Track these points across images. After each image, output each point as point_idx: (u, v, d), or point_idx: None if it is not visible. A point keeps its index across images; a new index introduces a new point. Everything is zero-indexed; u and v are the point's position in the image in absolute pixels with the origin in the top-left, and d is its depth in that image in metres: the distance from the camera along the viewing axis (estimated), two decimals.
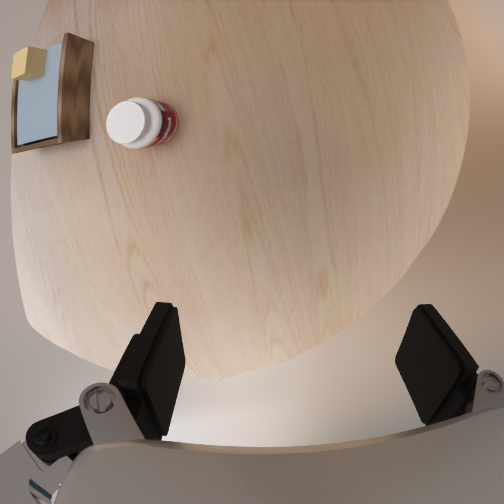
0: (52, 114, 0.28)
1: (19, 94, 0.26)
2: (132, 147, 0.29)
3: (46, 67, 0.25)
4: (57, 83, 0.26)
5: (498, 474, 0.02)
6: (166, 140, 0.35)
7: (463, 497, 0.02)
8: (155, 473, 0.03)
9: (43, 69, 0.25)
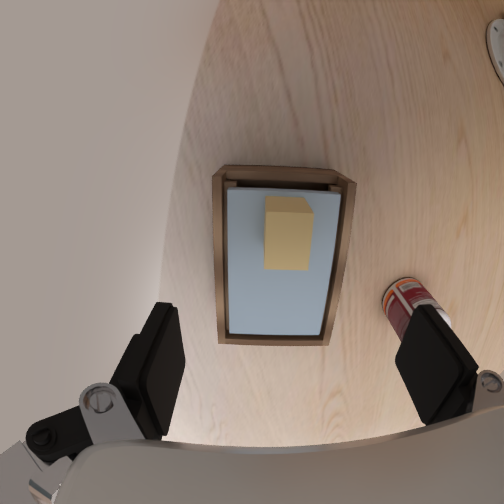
0: (314, 309, 0.26)
1: (232, 259, 0.24)
2: None
3: None
4: (328, 268, 0.24)
5: (498, 474, 0.02)
6: None
7: (463, 497, 0.02)
8: (155, 473, 0.03)
9: None
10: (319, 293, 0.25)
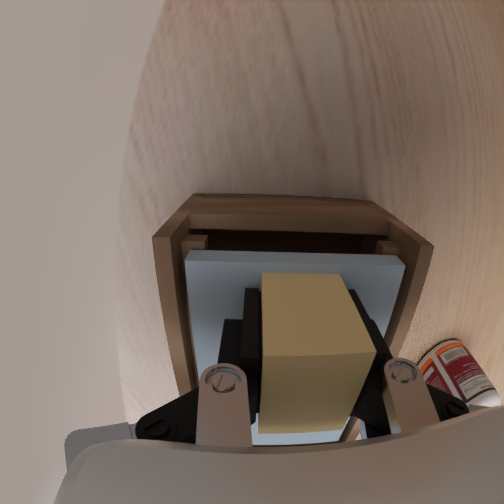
0: None
1: None
2: None
3: None
4: None
5: (498, 474, 0.02)
6: None
7: (463, 497, 0.02)
8: (155, 473, 0.03)
9: None
10: None
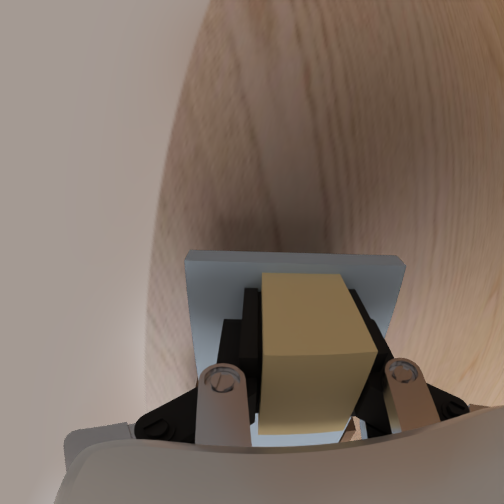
0: None
1: None
2: None
3: None
4: None
5: (498, 474, 0.02)
6: None
7: (463, 497, 0.02)
8: (155, 473, 0.03)
9: None
10: None
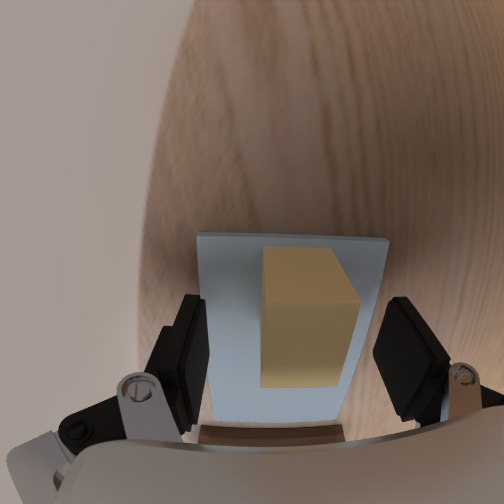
0: (333, 395, 0.17)
1: (211, 340, 0.15)
2: None
3: None
4: (358, 347, 0.15)
5: (498, 474, 0.02)
6: None
7: (463, 497, 0.02)
8: (155, 473, 0.03)
9: None
10: (341, 378, 0.16)
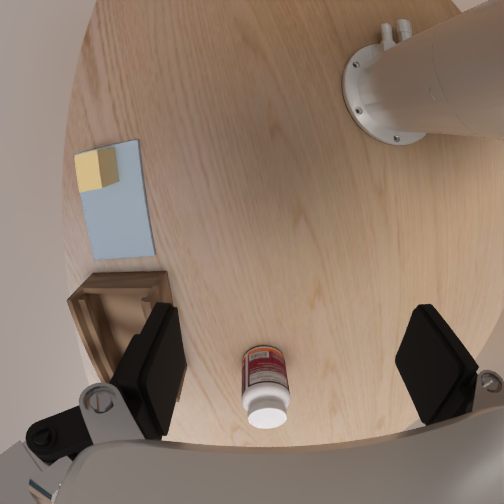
0: (143, 231, 0.32)
1: (84, 200, 0.31)
2: None
3: (120, 171, 0.30)
4: (142, 195, 0.31)
5: (498, 474, 0.02)
6: None
7: (463, 497, 0.02)
8: (155, 473, 0.03)
9: (117, 174, 0.29)
10: (142, 217, 0.32)
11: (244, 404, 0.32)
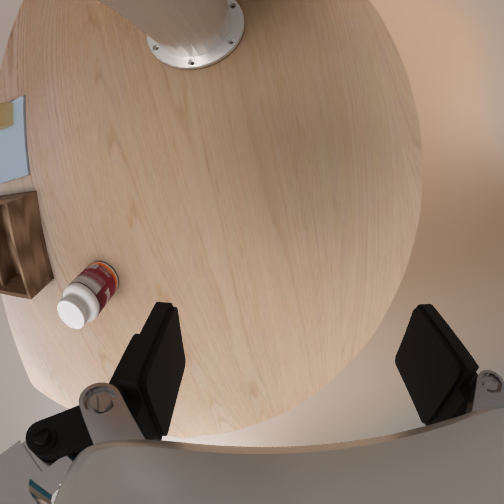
0: (22, 157, 0.33)
1: None
2: None
3: (14, 117, 0.31)
4: (23, 132, 0.32)
5: (498, 474, 0.02)
6: None
7: (463, 497, 0.02)
8: (155, 473, 0.03)
9: (11, 120, 0.30)
10: (22, 147, 0.33)
11: None
